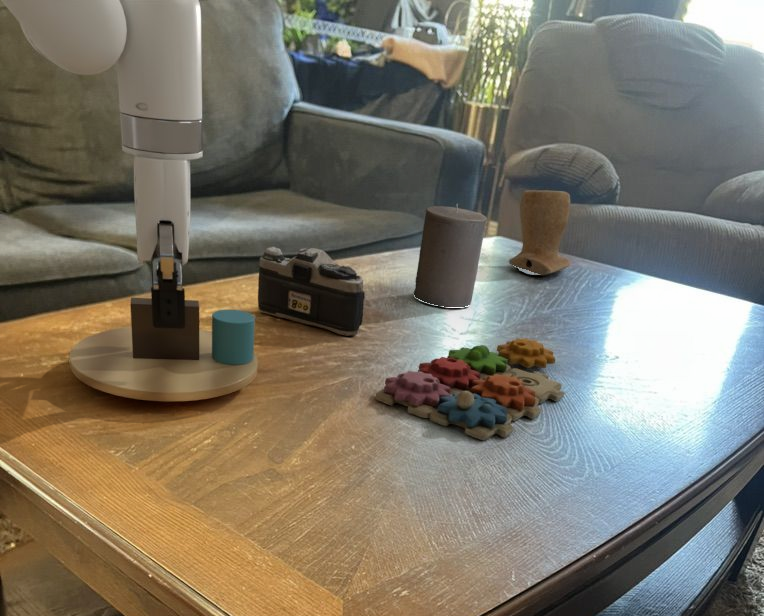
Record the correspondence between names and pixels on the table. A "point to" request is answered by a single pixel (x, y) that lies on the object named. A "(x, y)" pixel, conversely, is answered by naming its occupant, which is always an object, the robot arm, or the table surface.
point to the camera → (311, 290)
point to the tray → (157, 360)
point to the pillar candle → (449, 256)
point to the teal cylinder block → (232, 337)
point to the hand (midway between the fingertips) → (168, 311)
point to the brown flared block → (542, 231)
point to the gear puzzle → (477, 388)
